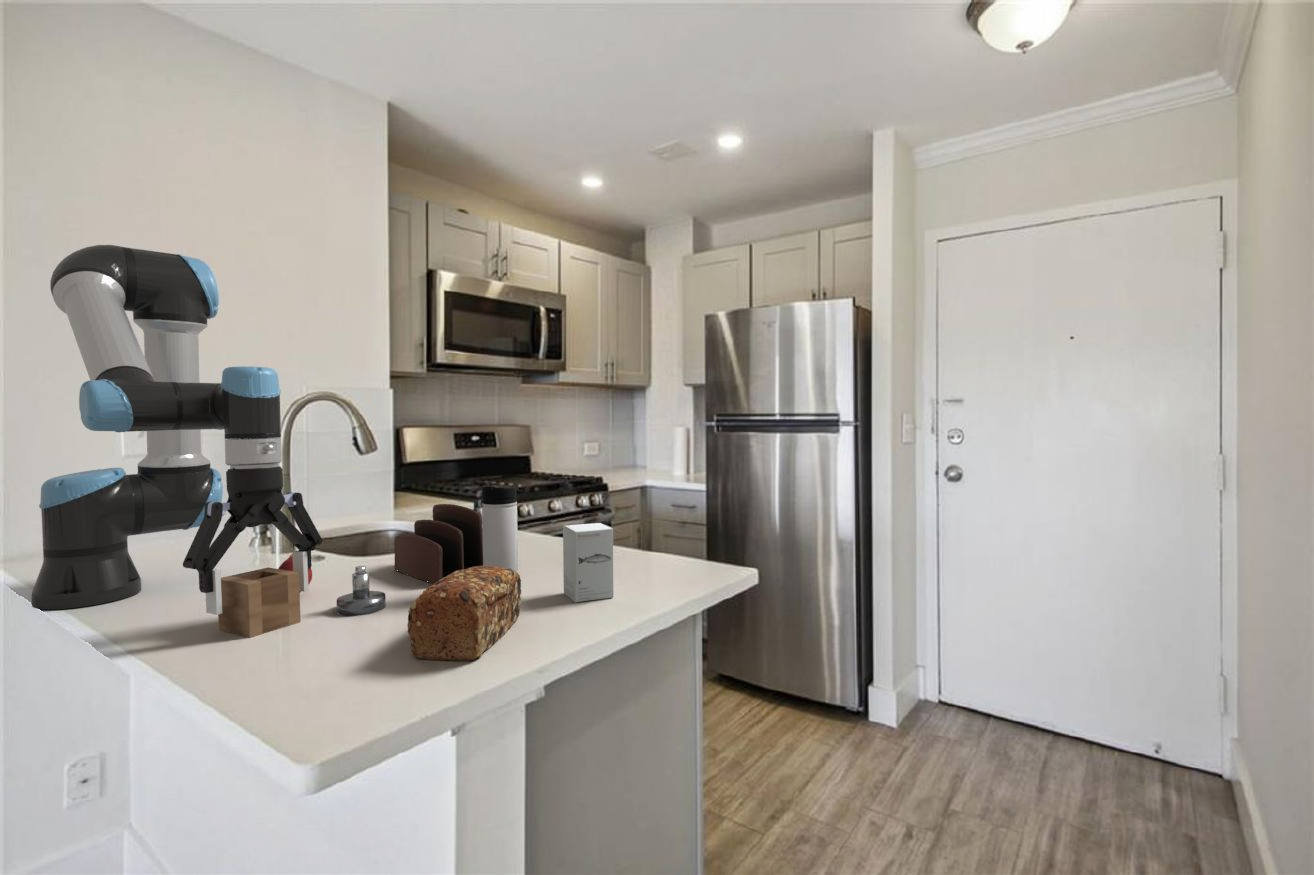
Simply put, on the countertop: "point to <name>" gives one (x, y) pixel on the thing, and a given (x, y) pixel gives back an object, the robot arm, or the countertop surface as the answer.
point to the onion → (289, 567)
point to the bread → (464, 613)
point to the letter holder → (441, 544)
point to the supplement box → (588, 561)
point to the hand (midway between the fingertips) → (260, 601)
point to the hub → (361, 596)
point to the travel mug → (500, 527)
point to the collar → (259, 601)
